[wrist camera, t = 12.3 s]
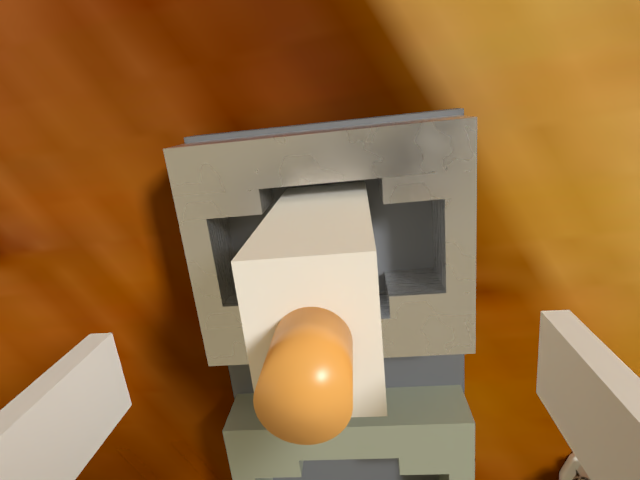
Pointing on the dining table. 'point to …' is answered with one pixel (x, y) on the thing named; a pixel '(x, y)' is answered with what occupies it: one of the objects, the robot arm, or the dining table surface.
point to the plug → (313, 313)
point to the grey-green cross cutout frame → (365, 437)
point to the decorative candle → (572, 470)
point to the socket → (326, 167)
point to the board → (392, 255)
